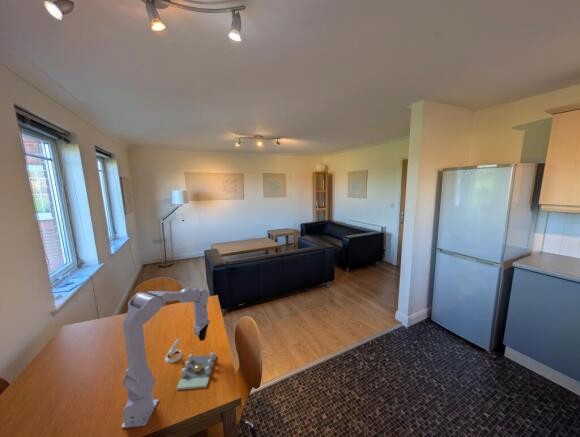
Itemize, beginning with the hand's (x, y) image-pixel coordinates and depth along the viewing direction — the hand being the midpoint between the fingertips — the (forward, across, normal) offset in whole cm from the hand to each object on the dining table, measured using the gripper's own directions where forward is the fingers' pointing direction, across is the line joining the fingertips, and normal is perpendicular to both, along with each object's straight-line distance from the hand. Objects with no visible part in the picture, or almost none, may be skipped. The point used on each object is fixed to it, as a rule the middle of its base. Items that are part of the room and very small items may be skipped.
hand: (202, 339), depth 106 cm
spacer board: (+10, -8, 0) cm, 13 cm away
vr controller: (+10, +2, +15) cm, 18 cm away
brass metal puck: (+9, -8, 0) cm, 12 cm away
